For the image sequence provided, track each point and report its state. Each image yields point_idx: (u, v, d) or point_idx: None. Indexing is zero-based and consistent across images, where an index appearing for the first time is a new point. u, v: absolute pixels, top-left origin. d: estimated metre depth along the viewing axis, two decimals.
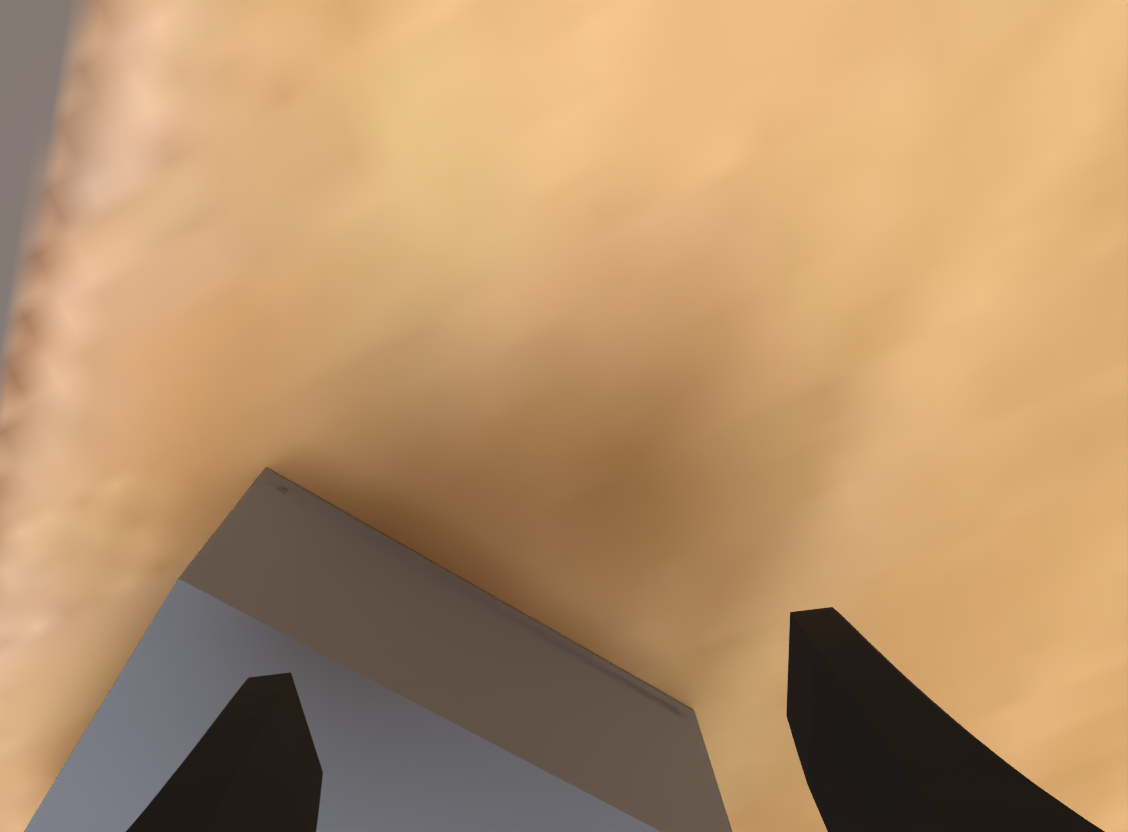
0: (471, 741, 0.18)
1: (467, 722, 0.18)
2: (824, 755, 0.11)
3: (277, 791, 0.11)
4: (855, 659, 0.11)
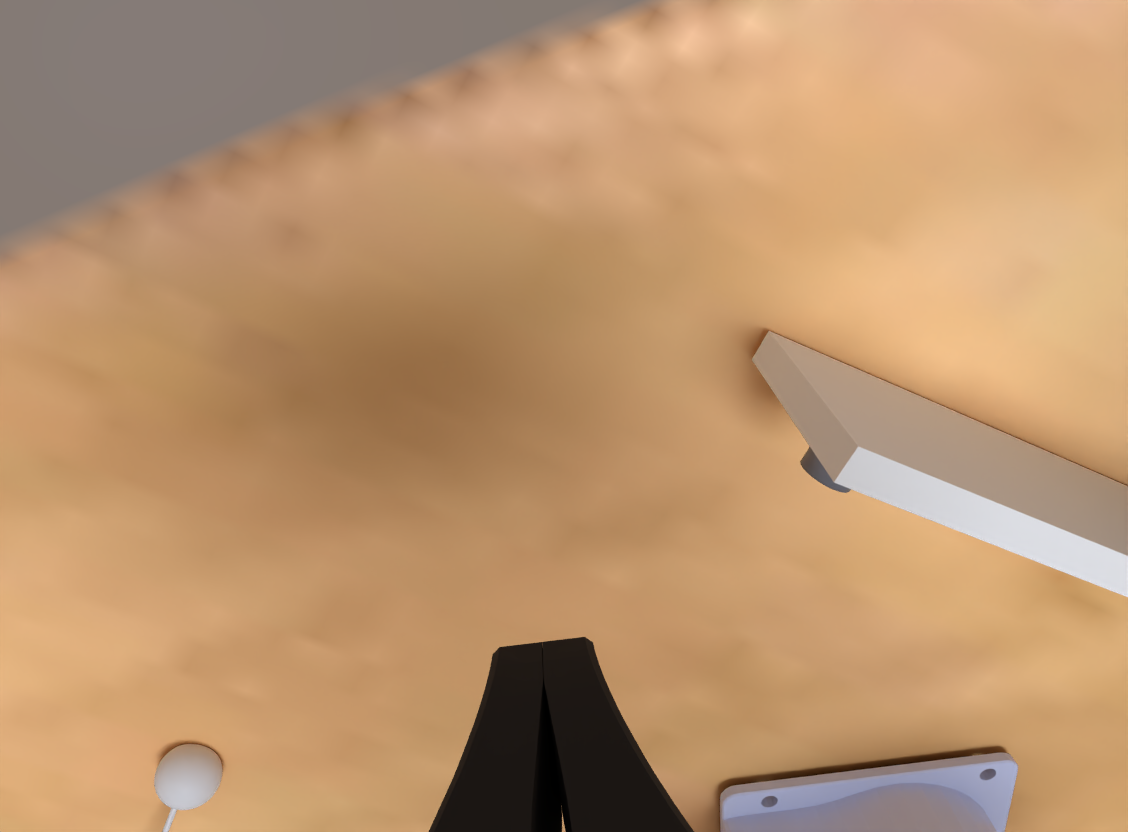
0: None
1: None
2: (560, 789, 0.11)
3: (549, 757, 0.11)
4: (576, 693, 0.11)
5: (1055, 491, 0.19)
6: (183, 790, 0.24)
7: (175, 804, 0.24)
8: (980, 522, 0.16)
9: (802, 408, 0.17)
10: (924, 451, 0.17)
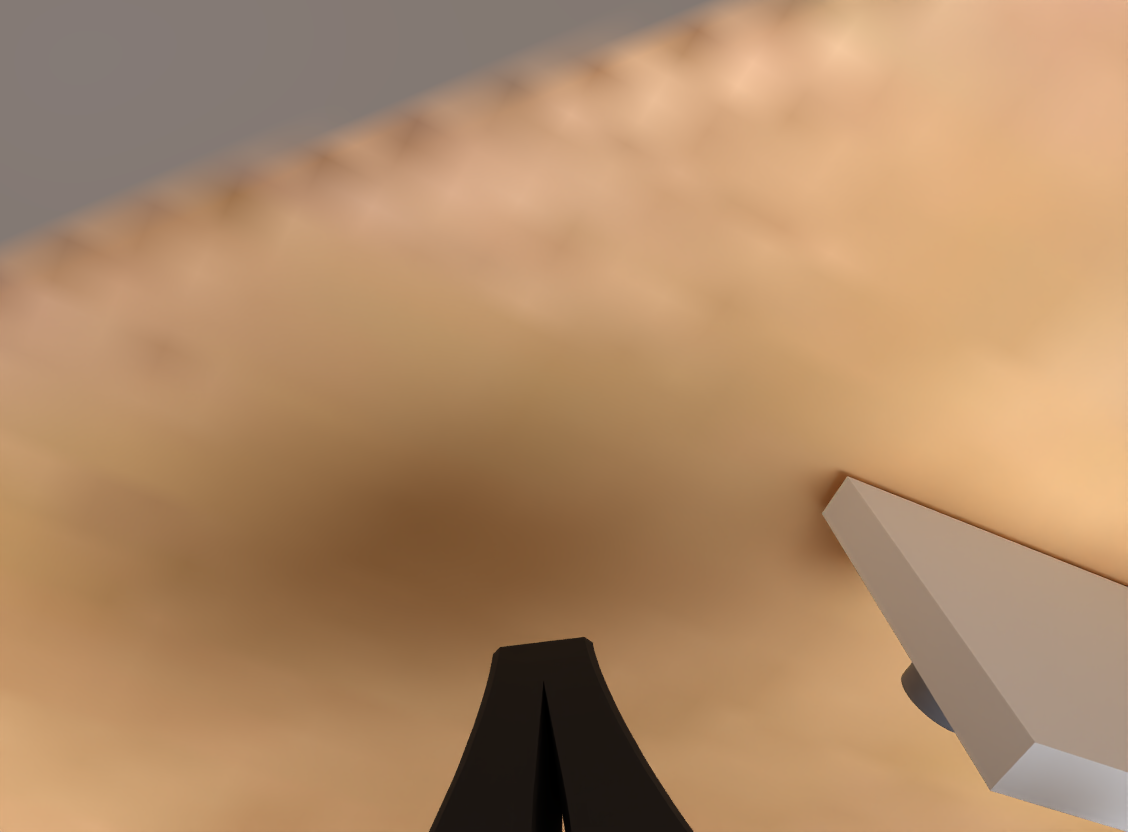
0: None
1: None
2: (559, 789, 0.11)
3: (549, 757, 0.11)
4: (575, 693, 0.11)
5: None
6: None
7: None
8: None
9: (916, 627, 0.12)
10: (1109, 705, 0.11)
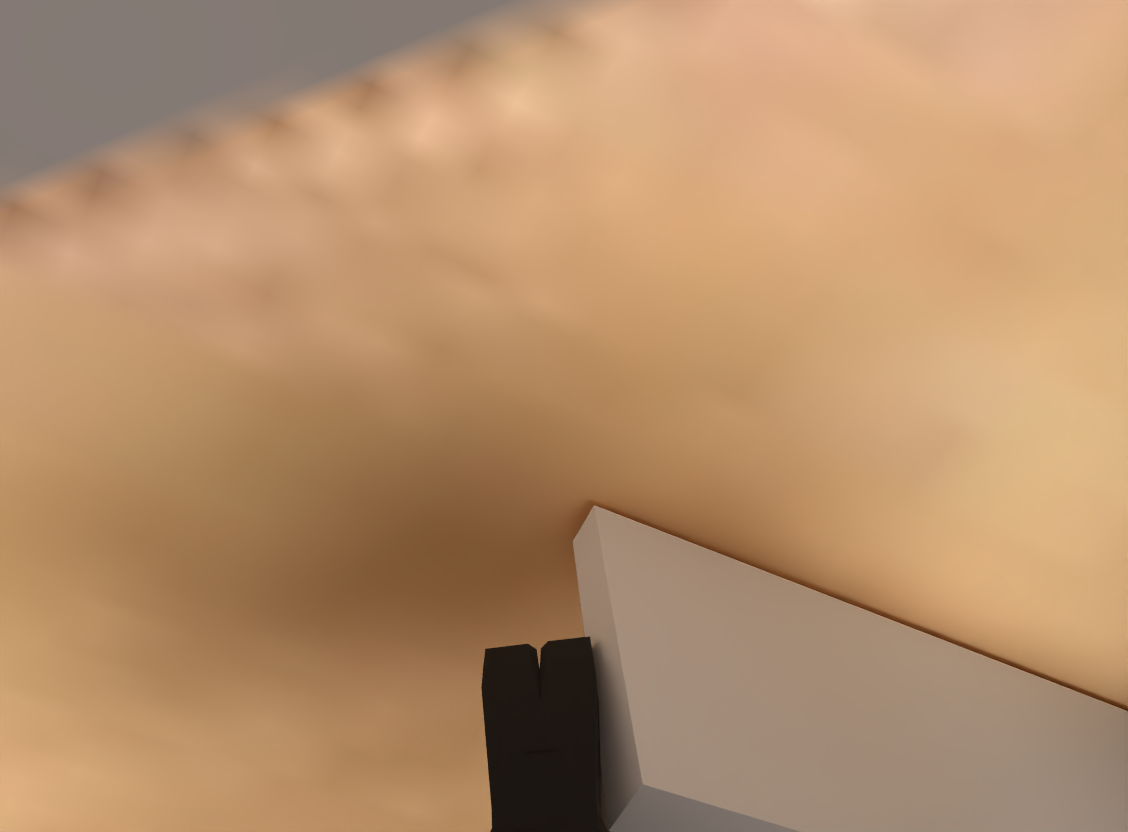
0: None
1: None
2: None
3: None
4: (512, 701, 0.11)
5: (985, 765, 0.13)
6: None
7: None
8: None
9: (601, 661, 0.12)
10: (775, 744, 0.11)
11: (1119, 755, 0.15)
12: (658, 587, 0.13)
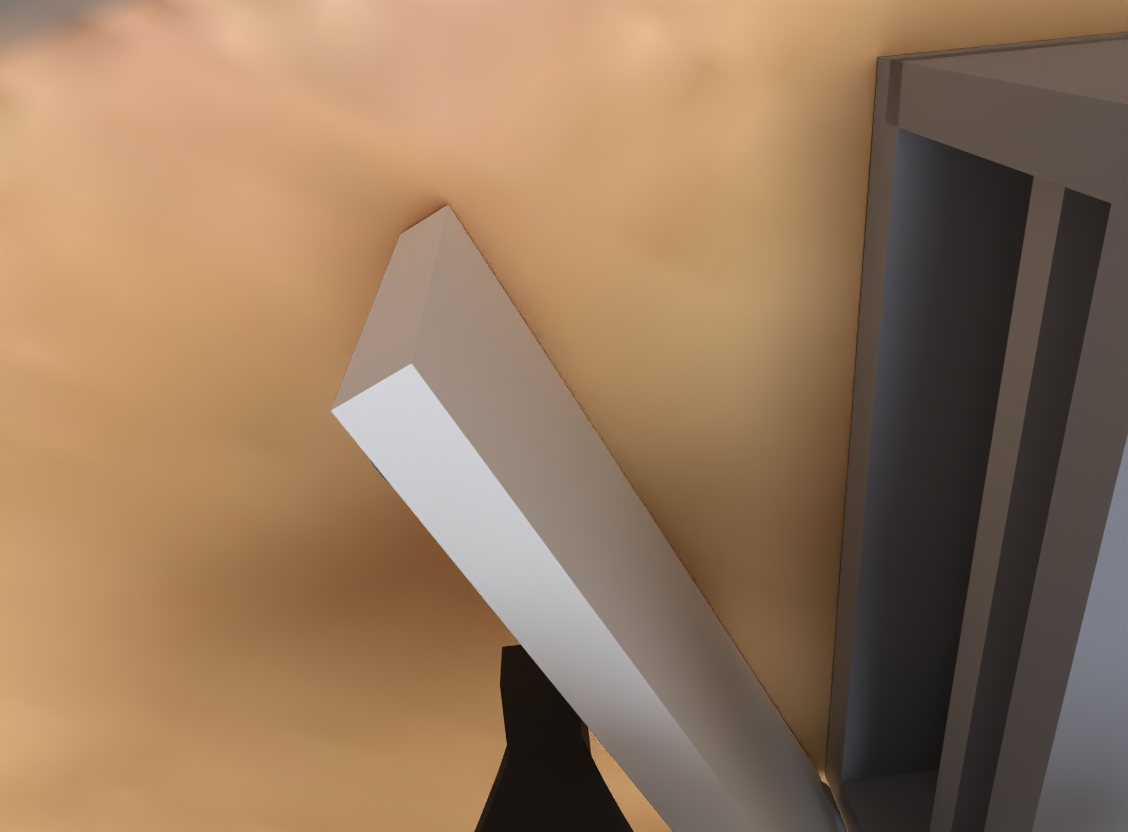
0: None
1: None
2: None
3: None
4: (531, 698, 0.11)
5: (695, 659, 0.12)
6: None
7: None
8: (555, 639, 0.08)
9: (395, 296, 0.09)
10: (542, 476, 0.09)
11: (781, 747, 0.15)
12: (481, 299, 0.11)
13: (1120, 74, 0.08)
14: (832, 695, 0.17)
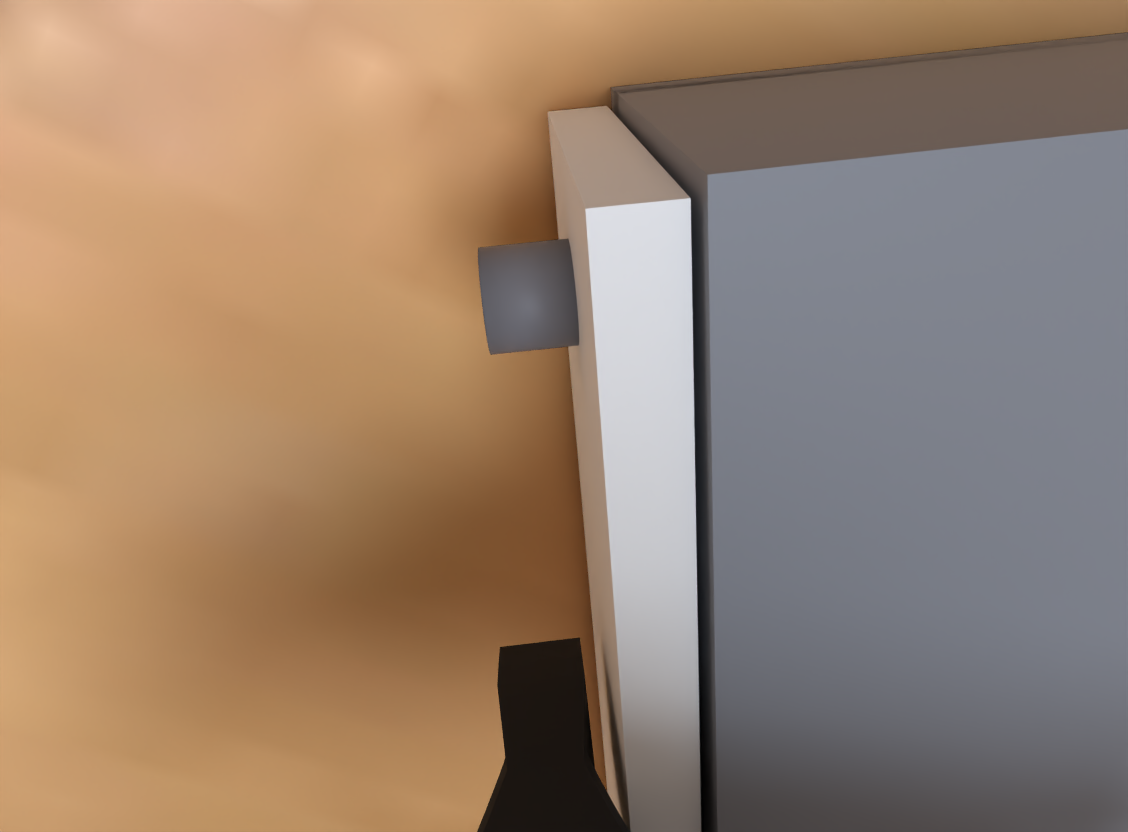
0: None
1: None
2: None
3: (590, 752, 0.11)
4: (528, 699, 0.11)
5: None
6: None
7: None
8: (643, 544, 0.08)
9: (598, 150, 0.09)
10: None
11: None
12: None
13: (752, 115, 0.08)
14: None
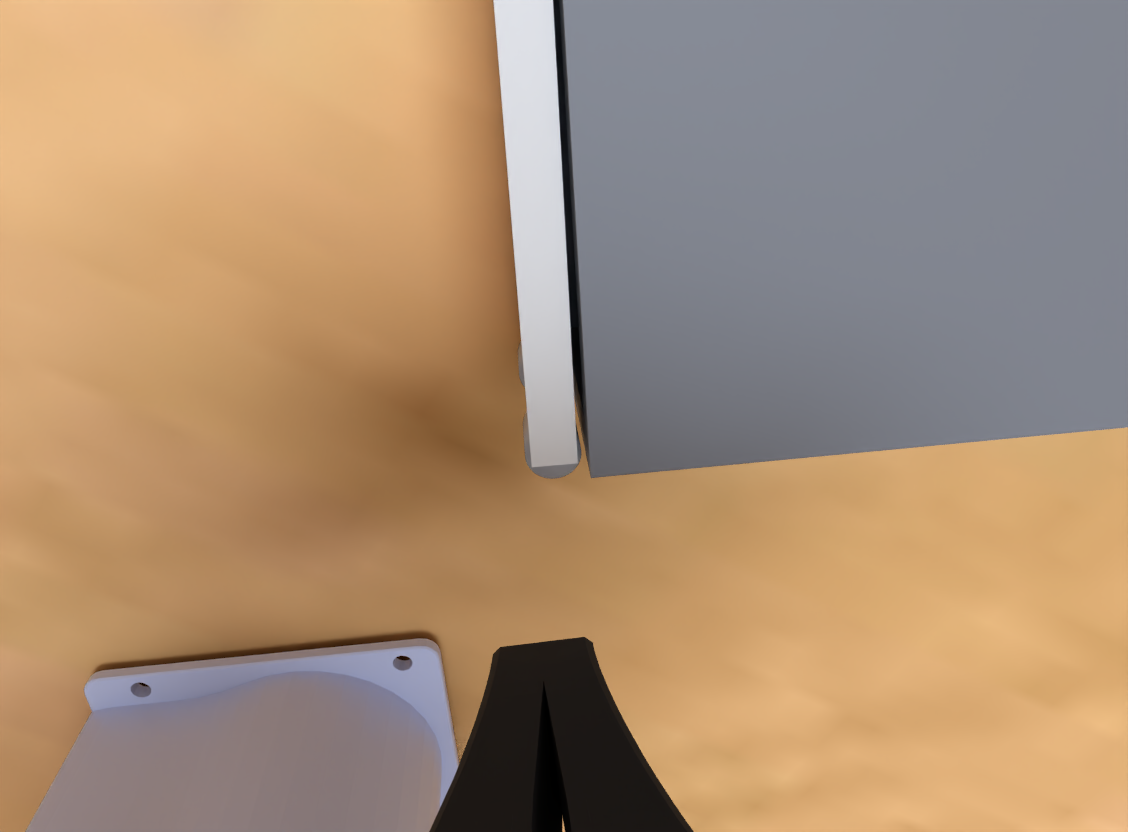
0: None
1: None
2: (559, 789, 0.11)
3: (549, 757, 0.11)
4: (575, 693, 0.11)
5: None
6: None
7: None
8: None
9: None
10: None
11: None
12: None
13: None
14: None
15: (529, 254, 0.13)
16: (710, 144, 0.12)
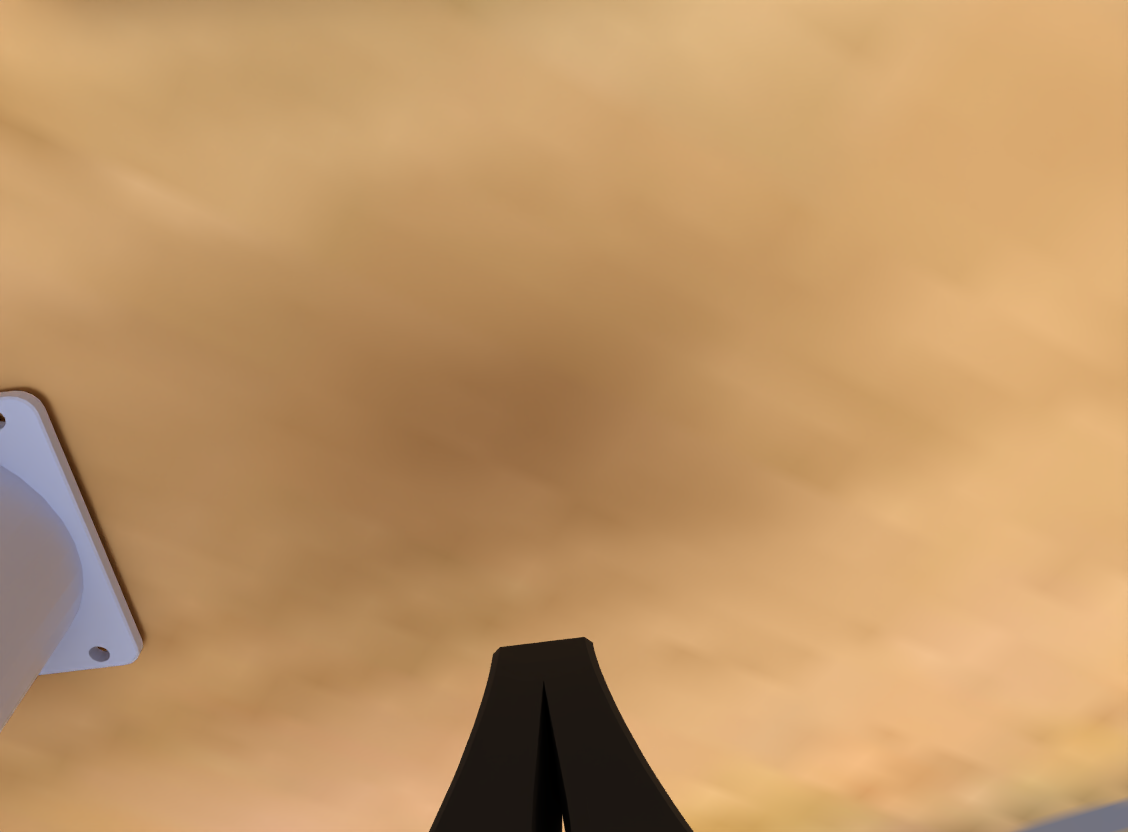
0: None
1: None
2: (560, 788, 0.11)
3: (549, 757, 0.11)
4: (575, 693, 0.11)
5: None
6: None
7: None
8: None
9: None
10: None
11: None
12: None
13: None
14: None
15: None
16: None
